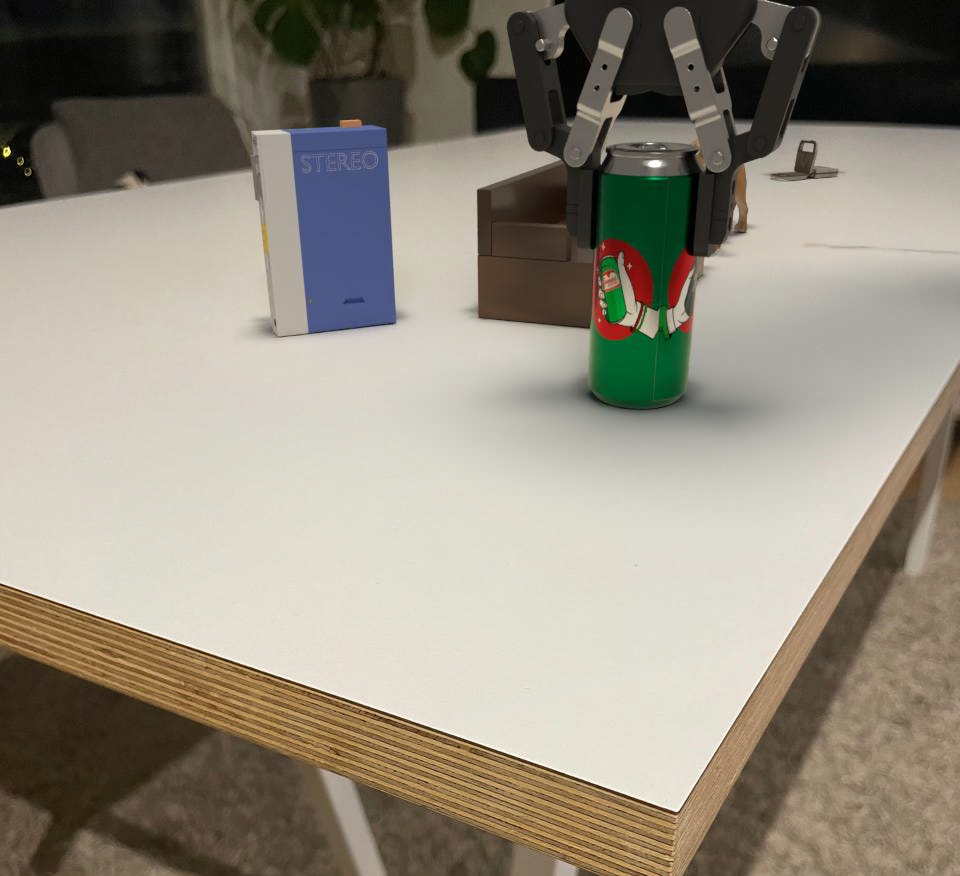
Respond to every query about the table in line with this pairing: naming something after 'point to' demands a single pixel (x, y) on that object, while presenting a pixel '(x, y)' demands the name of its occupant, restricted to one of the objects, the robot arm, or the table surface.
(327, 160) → the walkman
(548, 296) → the brown toy sofa
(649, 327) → the soda can
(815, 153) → the strap clip
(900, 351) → the table surface
